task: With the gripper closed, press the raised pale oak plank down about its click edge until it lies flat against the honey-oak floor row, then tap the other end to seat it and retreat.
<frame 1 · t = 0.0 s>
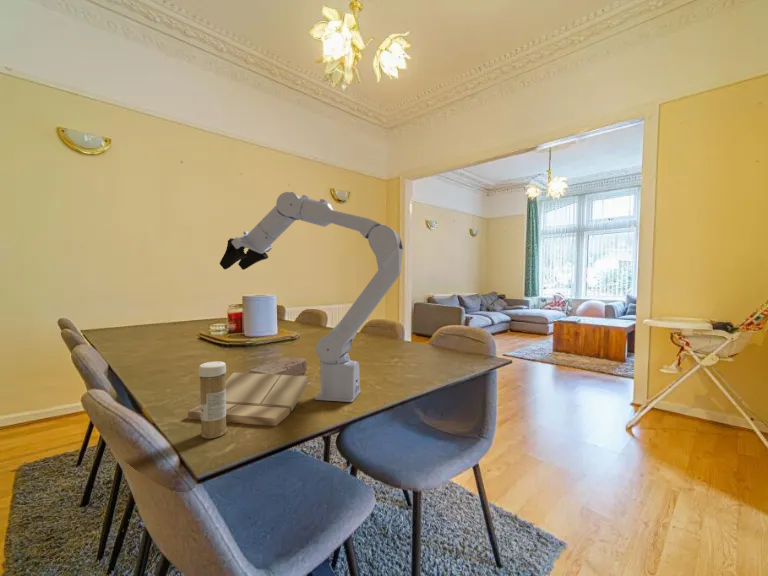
hand: (232, 266, 89), 32 cm above the table, tool tilted 50°, fingers open, 7 cm apart
sprinkles bottle: (214, 435, 65), on the table
plank: (260, 390, 81), point 3 cm above the table, hinge at 22.0°
brick: (278, 380, 100), on the table
floor row: (239, 416, 73), on the table
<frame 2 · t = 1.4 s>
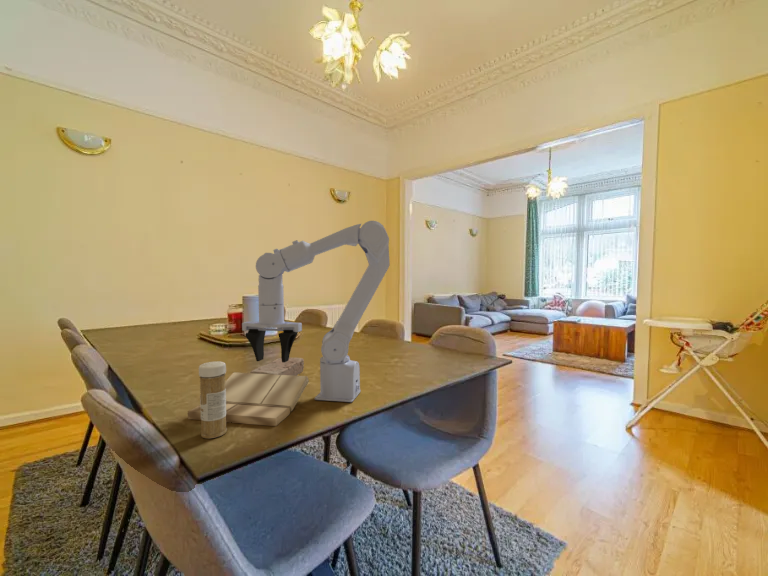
hand: (272, 360, 83), 9 cm above the table, tool pointing down, fingers open, 6 cm apart
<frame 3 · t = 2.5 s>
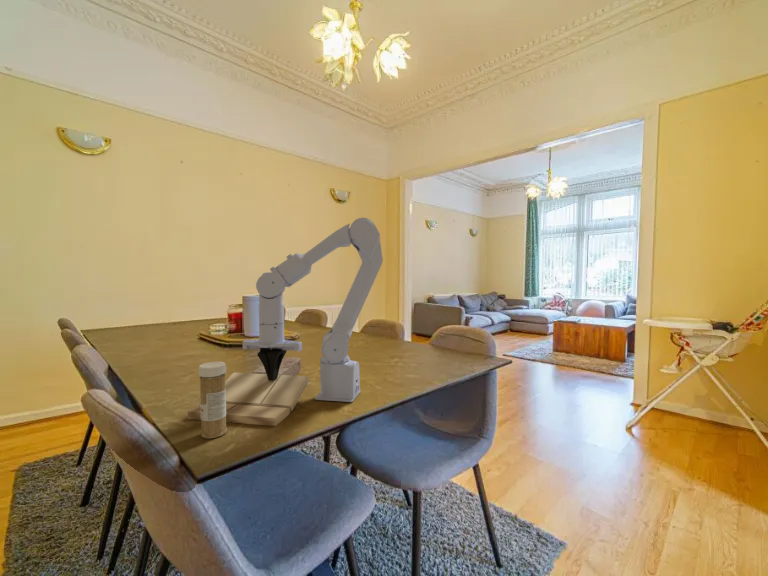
hand: (272, 379, 83), 5 cm above the table, tool pointing down, fingers closed, pressing on plank
plank: (260, 390, 81), point 3 cm above the table, hinge at 22.0°, touching gripper
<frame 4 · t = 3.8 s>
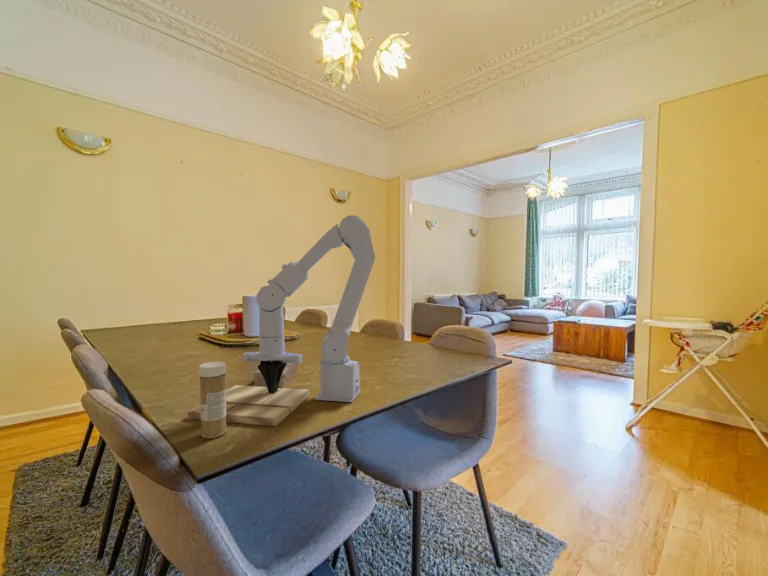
hand: (273, 391, 83), 2 cm above the table, tool pointing down, fingers closed
plank: (260, 397, 81), point 1 cm above the table, hinge at 1.7°
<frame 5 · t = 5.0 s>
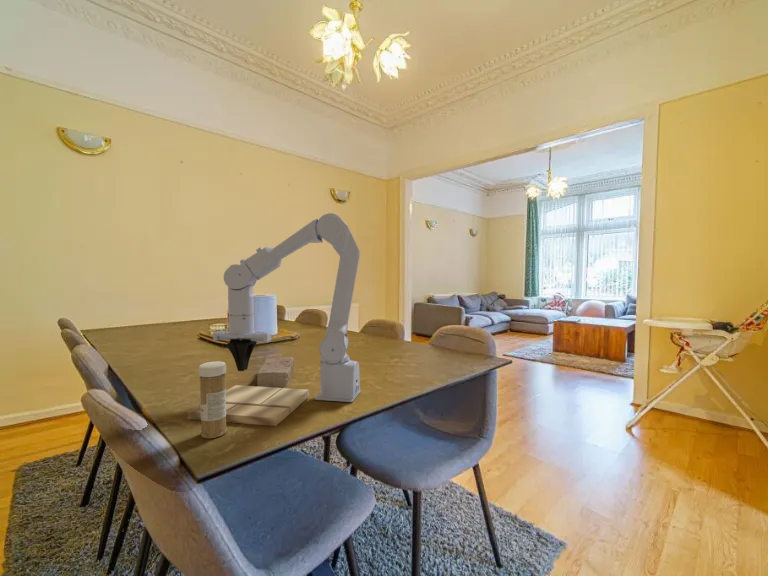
hand: (242, 370, 84), 7 cm above the table, tool pointing down, fingers closed
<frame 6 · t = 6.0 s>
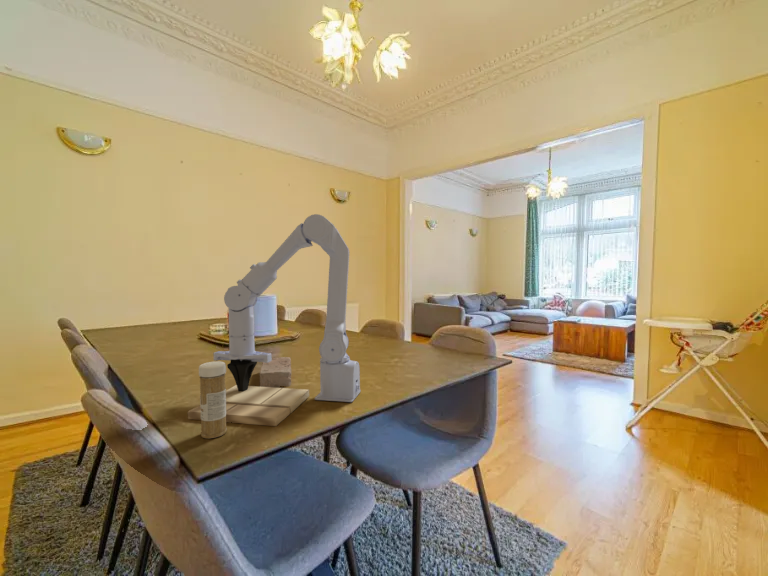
hand: (243, 390, 85), 2 cm above the table, tool pointing down, fingers closed, pressing on plank
plank: (260, 397, 81), point 1 cm above the table, hinge at 1.7°, touching gripper
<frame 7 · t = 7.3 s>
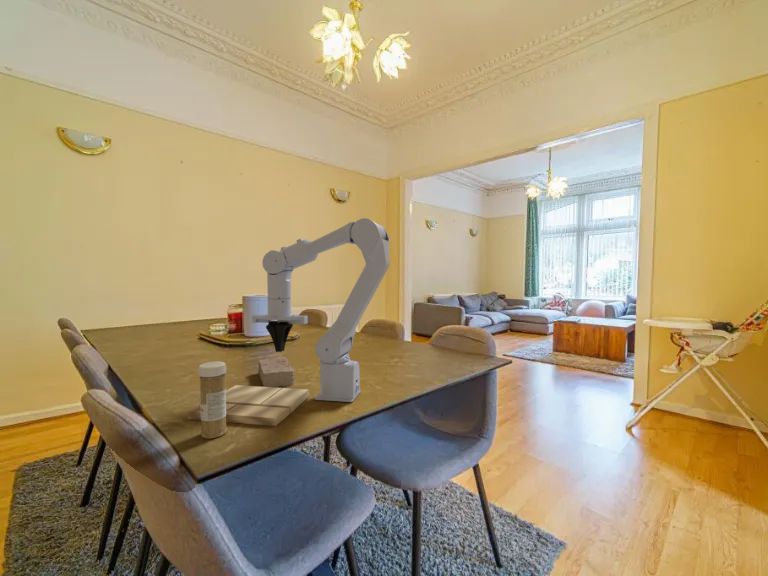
hand: (279, 351, 89), 10 cm above the table, tool pointing down, fingers closed
plank: (260, 397, 81), point 1 cm above the table, hinge at 1.7°
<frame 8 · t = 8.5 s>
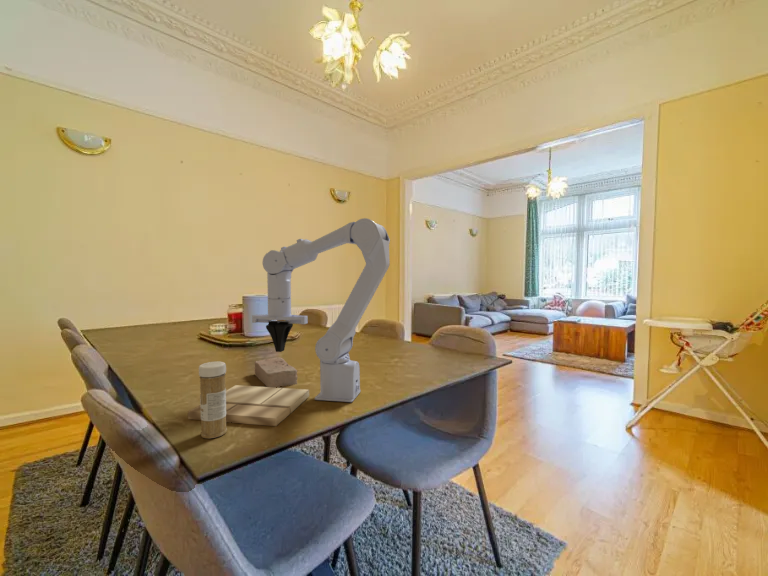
hand: (280, 351, 89), 10 cm above the table, tool pointing down, fingers closed
at the end: plank at +2° (first picture: +22°); the gripper is holding nothing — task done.
